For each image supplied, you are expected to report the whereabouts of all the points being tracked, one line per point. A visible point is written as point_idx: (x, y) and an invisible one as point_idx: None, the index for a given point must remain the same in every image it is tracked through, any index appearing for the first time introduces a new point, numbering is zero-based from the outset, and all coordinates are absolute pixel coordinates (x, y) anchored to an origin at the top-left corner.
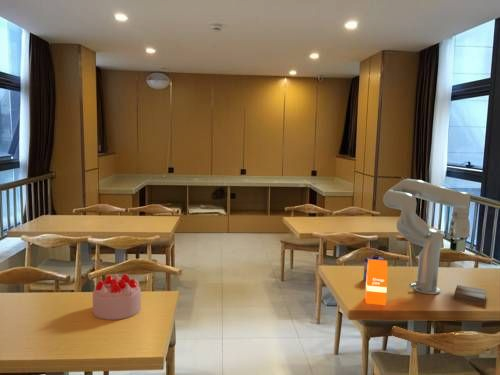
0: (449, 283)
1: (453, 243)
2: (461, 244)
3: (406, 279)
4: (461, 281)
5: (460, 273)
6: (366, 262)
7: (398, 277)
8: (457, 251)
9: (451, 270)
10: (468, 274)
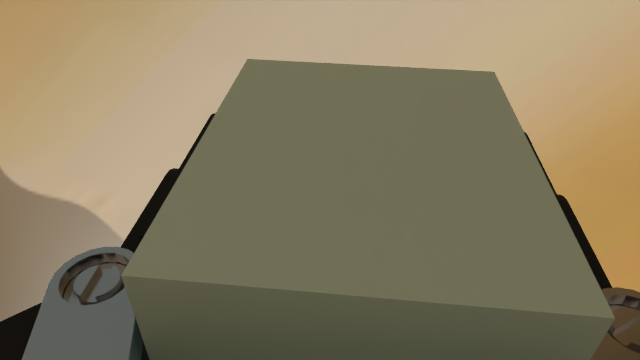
0: (386, 13)
1: (613, 299)
2: (369, 174)
3: (629, 202)
4: (230, 17)
5: (97, 161)
6: None
7: (634, 247)
8: (490, 76)
9: (123, 223)
10: (45, 125)
